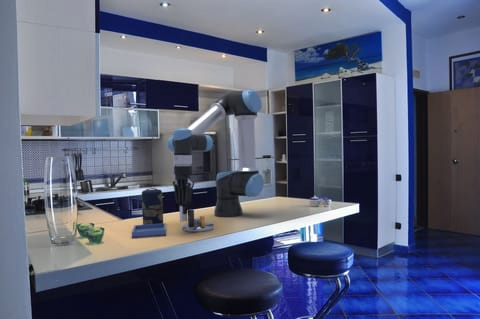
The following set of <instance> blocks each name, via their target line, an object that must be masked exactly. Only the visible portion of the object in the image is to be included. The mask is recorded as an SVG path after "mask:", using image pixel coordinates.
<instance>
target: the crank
mask: <svg viewBox="0 0 480 319" xmlns="http://www.w3.org/2000/svg"><path fill="white" fill-rule="evenodd" d="M187 224H188V227H189V229H195V228H197V227H198V226H200V217H199V218H198V217H197V218H195V209H187Z"/></svg>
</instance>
